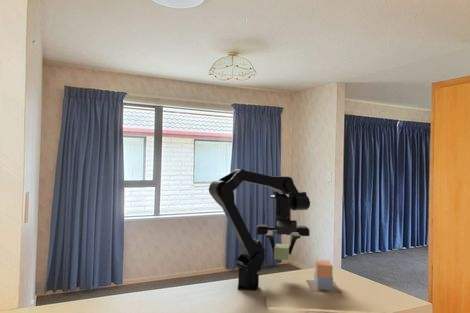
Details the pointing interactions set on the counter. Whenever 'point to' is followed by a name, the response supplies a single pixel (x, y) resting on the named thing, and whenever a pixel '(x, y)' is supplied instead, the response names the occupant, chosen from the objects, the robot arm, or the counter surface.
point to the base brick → (323, 282)
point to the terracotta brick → (323, 268)
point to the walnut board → (314, 289)
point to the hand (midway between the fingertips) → (282, 254)
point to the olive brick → (281, 251)
